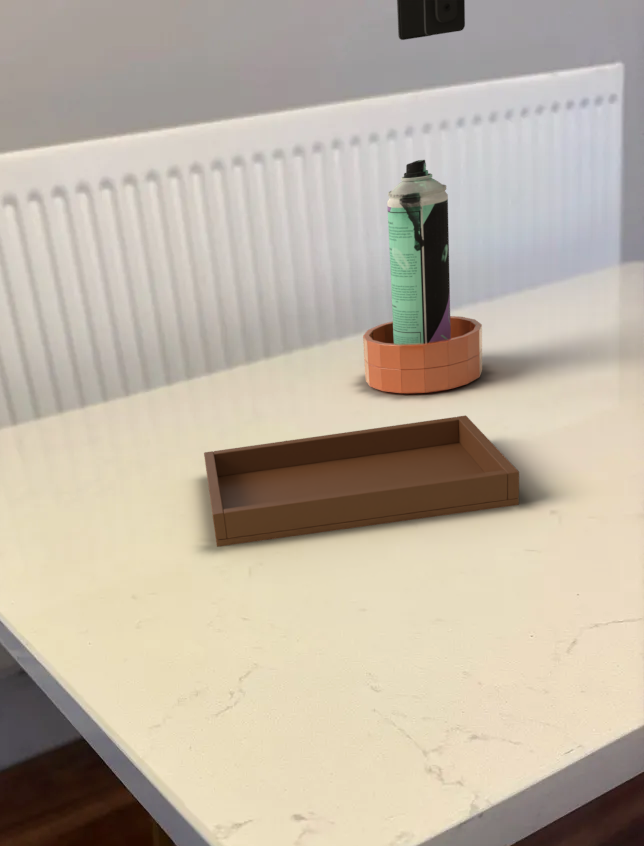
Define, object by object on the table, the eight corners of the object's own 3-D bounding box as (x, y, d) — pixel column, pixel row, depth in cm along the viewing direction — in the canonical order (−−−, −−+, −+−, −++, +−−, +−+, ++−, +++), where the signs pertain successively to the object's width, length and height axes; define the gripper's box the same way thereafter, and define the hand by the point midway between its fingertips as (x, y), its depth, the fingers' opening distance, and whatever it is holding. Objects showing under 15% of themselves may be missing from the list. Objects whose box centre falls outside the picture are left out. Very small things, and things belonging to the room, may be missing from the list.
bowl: (464, 358, 108) (463, 310, 105) (495, 386, 98) (495, 334, 95) (357, 373, 108) (354, 326, 106) (378, 403, 98) (376, 351, 96)
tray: (466, 445, 85) (466, 415, 84) (519, 506, 73) (519, 471, 72) (207, 481, 85) (203, 452, 84) (217, 548, 73) (212, 514, 72)
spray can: (457, 379, 100) (453, 158, 91) (401, 386, 100) (391, 167, 91) (444, 365, 105) (439, 154, 96) (391, 372, 105) (380, 163, 96)
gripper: (505, -249, 73) (504, 24, 81) (442, -191, 89) (447, 33, 96) (400, -232, 73) (409, 38, 81) (356, -178, 89) (367, 45, 97)
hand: (430, 35), depth 89 cm, fingers open, 9 cm apart
